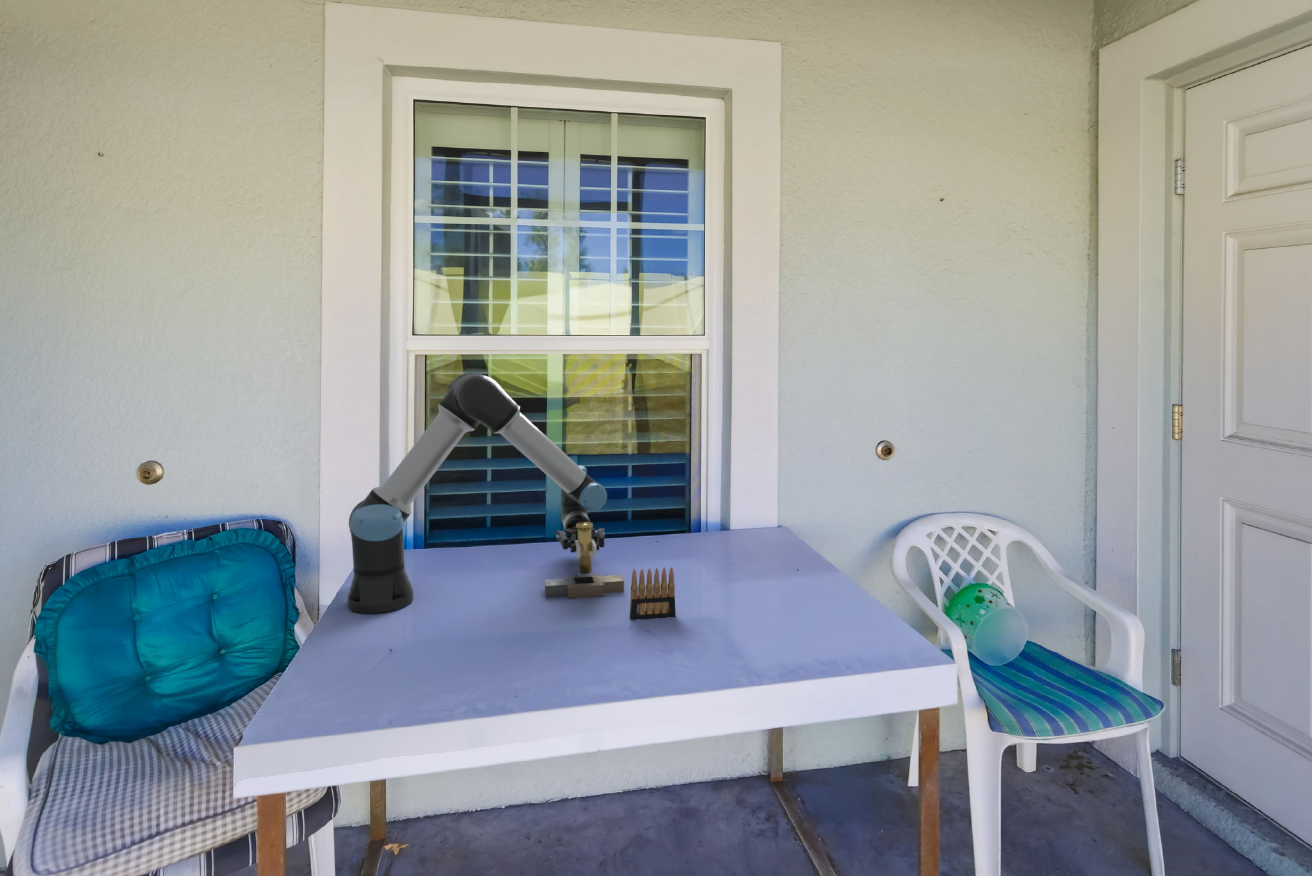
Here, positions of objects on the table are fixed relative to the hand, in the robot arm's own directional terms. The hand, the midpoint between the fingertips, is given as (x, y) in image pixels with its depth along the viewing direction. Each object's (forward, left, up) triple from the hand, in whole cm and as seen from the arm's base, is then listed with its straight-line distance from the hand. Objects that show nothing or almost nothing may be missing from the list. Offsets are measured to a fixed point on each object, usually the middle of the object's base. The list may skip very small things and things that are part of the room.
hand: (587, 552), depth 174 cm
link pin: (0, +5, -7) cm, 9 cm away
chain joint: (0, +5, -12) cm, 13 cm away
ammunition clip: (+14, -15, -12) cm, 24 cm away
